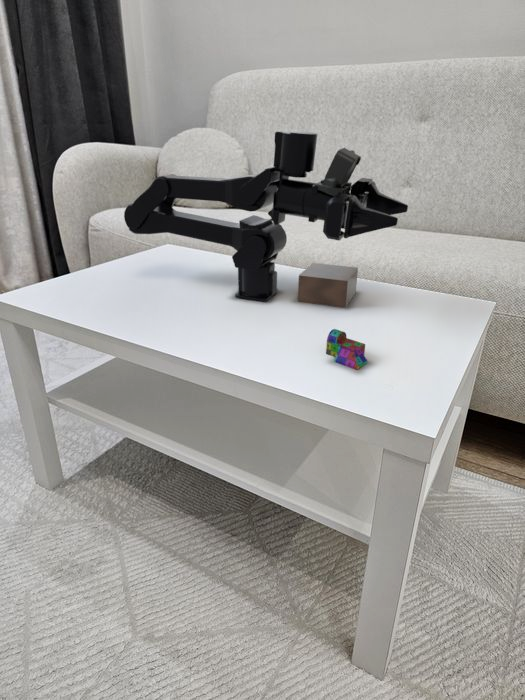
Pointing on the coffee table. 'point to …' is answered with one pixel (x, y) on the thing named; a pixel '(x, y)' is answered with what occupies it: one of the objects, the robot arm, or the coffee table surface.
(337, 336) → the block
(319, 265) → the walnut block
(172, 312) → the coffee table surface
